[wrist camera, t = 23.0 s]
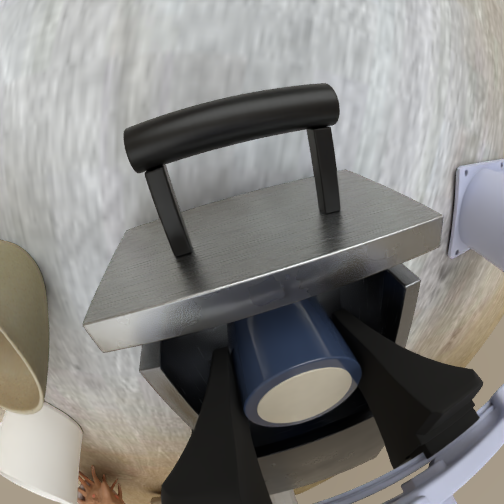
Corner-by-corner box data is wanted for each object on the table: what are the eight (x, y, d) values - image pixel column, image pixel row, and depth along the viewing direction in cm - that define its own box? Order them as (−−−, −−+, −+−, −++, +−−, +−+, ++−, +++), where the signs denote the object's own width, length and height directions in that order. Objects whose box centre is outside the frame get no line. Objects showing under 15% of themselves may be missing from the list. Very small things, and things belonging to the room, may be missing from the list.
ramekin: (317, 270, 12) (368, 339, 8) (322, 339, 14) (357, 402, 10) (213, 301, 12) (227, 387, 8) (240, 365, 14) (257, 437, 10)
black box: (186, 357, 18) (195, 468, 10) (353, 305, 18) (416, 392, 11) (237, 432, 25) (253, 498, 17) (345, 397, 26) (376, 457, 18)
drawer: (96, 147, 10) (9, 182, 4) (333, 88, 11) (440, 80, 5) (210, 388, 18) (222, 467, 13) (349, 344, 19) (390, 410, 13)
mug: (66, 404, 18) (53, 493, 9) (93, 443, 23) (90, 511, 14) (-17, 377, 15) (-40, 446, 6) (17, 421, 19) (5, 480, 11)
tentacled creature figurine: (92, 530, 21) (44, 541, 7) (76, 471, 32) (23, 448, 18) (151, 531, 27) (135, 552, 12) (132, 472, 37) (105, 456, 23)
